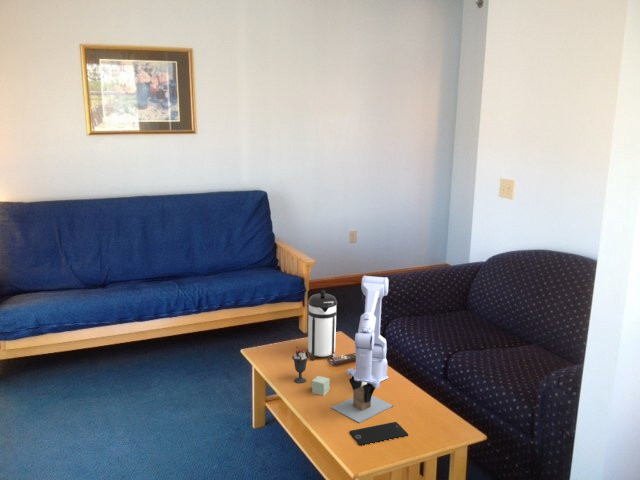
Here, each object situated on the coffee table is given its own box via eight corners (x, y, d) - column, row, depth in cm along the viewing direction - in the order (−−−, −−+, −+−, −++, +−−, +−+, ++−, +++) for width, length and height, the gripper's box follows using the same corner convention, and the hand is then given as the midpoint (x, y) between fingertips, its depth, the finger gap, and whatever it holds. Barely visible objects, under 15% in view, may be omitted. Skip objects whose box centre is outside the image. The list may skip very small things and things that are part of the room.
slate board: (364, 392, 226) (364, 391, 226) (392, 406, 216) (392, 405, 216) (331, 408, 214) (331, 407, 214) (359, 423, 204) (359, 422, 204)
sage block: (317, 387, 230) (318, 375, 229) (329, 390, 228) (329, 378, 227) (311, 392, 226) (312, 380, 224) (323, 395, 223) (323, 383, 222)
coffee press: (346, 353, 261) (348, 289, 255) (323, 365, 250) (324, 297, 243) (317, 343, 273) (318, 281, 266) (293, 353, 261) (294, 288, 254)
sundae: (289, 382, 233) (289, 347, 230) (296, 375, 239) (296, 341, 236) (304, 385, 231) (304, 350, 228) (311, 378, 237) (311, 343, 234)
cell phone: (348, 433, 199) (348, 430, 198) (396, 423, 205) (396, 421, 205) (359, 447, 191) (360, 444, 190) (408, 437, 197) (408, 434, 197)
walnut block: (361, 402, 218) (362, 386, 216) (370, 406, 215) (371, 390, 213) (353, 406, 215) (353, 389, 213) (362, 410, 212) (362, 394, 210)
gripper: (341, 361, 214) (340, 395, 217) (371, 374, 204) (369, 410, 206) (355, 355, 219) (353, 389, 222) (384, 368, 208) (383, 403, 211)
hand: (362, 399), depth 214 cm, fingers closed on walnut block, 4 cm apart
